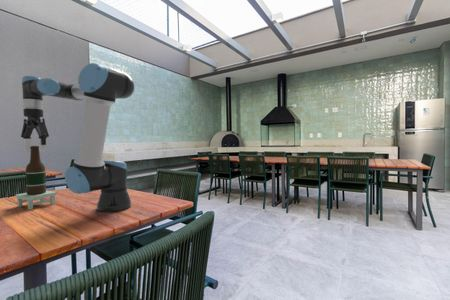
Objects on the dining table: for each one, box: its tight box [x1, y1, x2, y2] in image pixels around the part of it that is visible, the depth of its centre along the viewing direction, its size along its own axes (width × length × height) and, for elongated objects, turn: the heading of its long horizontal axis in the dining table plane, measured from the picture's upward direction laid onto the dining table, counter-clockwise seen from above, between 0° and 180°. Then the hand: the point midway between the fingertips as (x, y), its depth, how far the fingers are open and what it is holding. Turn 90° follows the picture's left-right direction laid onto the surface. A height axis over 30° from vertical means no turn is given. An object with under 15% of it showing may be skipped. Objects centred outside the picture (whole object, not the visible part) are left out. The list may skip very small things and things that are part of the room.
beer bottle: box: [25, 145, 47, 195], centre depth 116 cm, size 8×8×24 cm
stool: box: [14, 190, 57, 211], centre depth 116 cm, size 12×12×6 cm
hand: (35, 151), depth 115 cm, fingers open, 13 cm apart
